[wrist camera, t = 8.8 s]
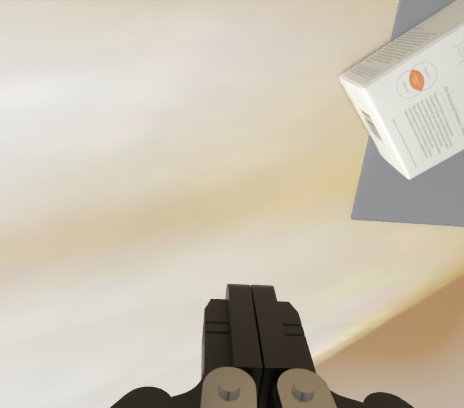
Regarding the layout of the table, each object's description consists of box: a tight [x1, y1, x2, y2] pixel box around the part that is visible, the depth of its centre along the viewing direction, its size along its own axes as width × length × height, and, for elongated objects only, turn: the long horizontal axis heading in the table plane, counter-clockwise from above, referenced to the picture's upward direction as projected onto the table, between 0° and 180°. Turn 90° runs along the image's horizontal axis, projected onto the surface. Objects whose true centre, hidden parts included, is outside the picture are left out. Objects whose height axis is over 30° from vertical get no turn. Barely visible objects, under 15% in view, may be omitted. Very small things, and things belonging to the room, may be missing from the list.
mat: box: [351, 0, 464, 227], centre depth 36 cm, size 19×12×1 cm, turn 175°
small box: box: [339, 0, 464, 180], centre depth 31 cm, size 8×6×13 cm
